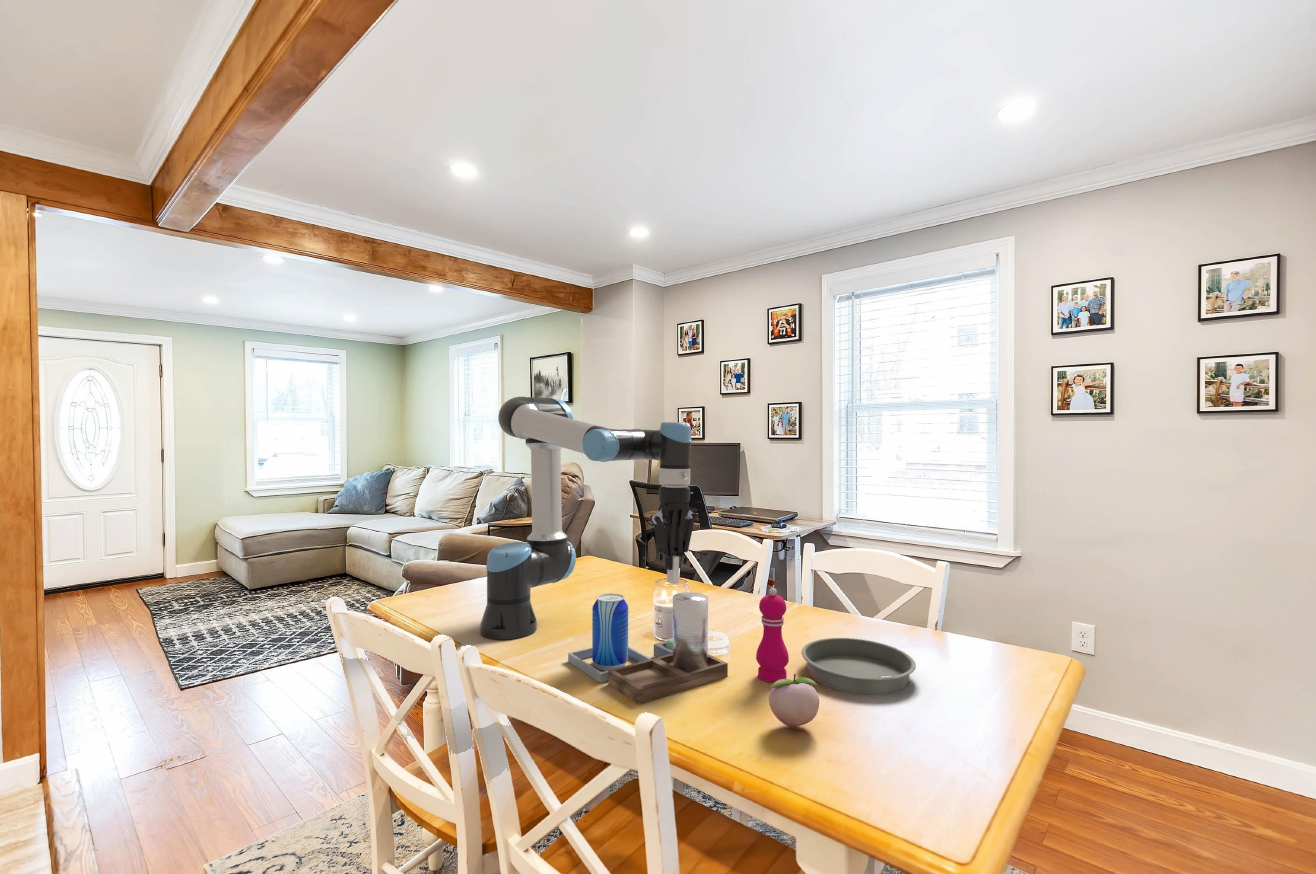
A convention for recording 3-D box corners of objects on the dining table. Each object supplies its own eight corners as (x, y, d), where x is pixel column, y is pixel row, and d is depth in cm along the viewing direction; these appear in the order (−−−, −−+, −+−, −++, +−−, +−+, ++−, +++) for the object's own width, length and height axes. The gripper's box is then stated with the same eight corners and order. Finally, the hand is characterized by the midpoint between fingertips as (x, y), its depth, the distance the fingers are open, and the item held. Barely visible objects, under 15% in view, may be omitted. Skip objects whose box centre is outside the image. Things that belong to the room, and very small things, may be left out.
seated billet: (665, 665, 138) (665, 595, 138) (692, 658, 142) (692, 590, 142) (687, 677, 131) (687, 604, 131) (715, 669, 136) (715, 598, 136)
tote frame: (568, 661, 144) (568, 653, 144) (618, 649, 152) (618, 641, 152) (600, 683, 132) (600, 674, 132) (653, 668, 140) (653, 659, 140)
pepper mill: (791, 674, 137) (792, 586, 137) (784, 686, 131) (785, 593, 130) (760, 668, 140) (761, 582, 140) (752, 680, 134) (752, 590, 134)
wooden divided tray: (608, 684, 131) (608, 670, 131) (693, 660, 145) (693, 647, 145) (639, 704, 121) (639, 689, 121) (727, 676, 136) (727, 663, 136)
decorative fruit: (787, 744, 106) (787, 687, 106) (761, 723, 114) (761, 670, 114) (830, 733, 110) (830, 679, 110) (802, 714, 117) (802, 663, 117)
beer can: (622, 673, 137) (623, 603, 137) (587, 670, 139) (587, 600, 139) (631, 659, 145) (632, 593, 145) (598, 657, 147) (598, 591, 147)
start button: (663, 656, 147) (663, 640, 147) (675, 653, 149) (675, 637, 149) (672, 661, 144) (672, 644, 144) (684, 657, 146) (684, 641, 146)
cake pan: (794, 688, 130) (795, 667, 130) (807, 650, 153) (807, 632, 153) (919, 707, 122) (919, 684, 121) (912, 663, 145) (912, 644, 145)
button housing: (653, 656, 148) (653, 644, 148) (676, 650, 152) (676, 638, 152) (670, 665, 142) (671, 652, 142) (693, 659, 146) (694, 646, 146)
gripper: (662, 488, 140) (660, 589, 140) (705, 485, 147) (703, 582, 148) (643, 485, 146) (642, 582, 146) (686, 483, 153) (684, 575, 154)
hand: (672, 582), depth 147 cm, fingers closed
